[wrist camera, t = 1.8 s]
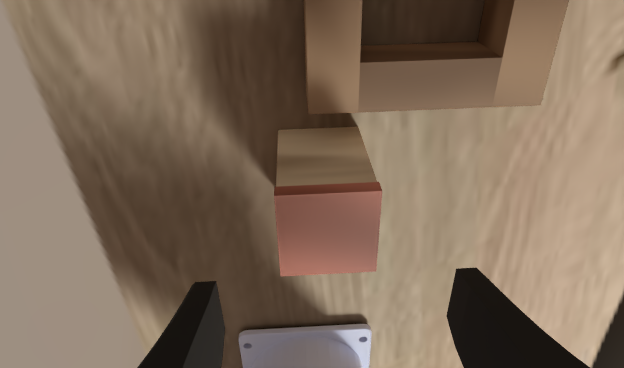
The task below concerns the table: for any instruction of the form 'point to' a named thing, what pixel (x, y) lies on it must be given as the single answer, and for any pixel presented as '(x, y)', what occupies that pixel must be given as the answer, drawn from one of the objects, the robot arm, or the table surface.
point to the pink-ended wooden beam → (326, 202)
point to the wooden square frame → (430, 61)
